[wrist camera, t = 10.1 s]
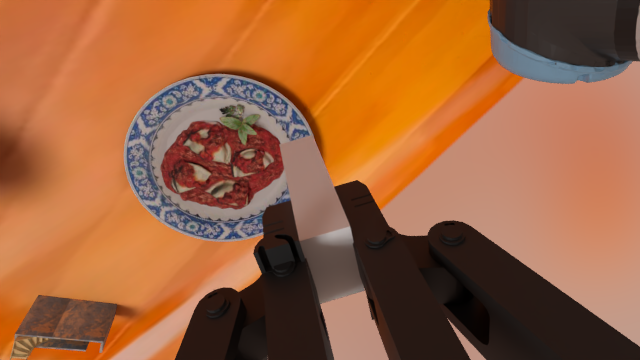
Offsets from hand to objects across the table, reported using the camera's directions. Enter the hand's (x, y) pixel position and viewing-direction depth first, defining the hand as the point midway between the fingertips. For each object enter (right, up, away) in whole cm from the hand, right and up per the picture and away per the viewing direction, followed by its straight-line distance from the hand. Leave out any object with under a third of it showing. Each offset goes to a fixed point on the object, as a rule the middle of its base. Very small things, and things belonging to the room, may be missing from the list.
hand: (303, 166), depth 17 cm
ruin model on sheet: (-39, -21, +45) cm, 63 cm away
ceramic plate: (-13, +2, +37) cm, 39 cm away
